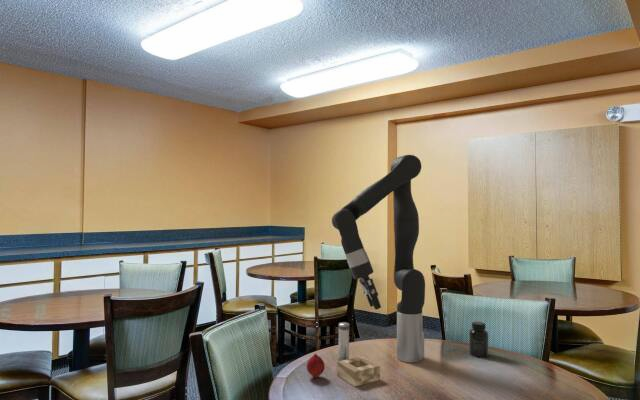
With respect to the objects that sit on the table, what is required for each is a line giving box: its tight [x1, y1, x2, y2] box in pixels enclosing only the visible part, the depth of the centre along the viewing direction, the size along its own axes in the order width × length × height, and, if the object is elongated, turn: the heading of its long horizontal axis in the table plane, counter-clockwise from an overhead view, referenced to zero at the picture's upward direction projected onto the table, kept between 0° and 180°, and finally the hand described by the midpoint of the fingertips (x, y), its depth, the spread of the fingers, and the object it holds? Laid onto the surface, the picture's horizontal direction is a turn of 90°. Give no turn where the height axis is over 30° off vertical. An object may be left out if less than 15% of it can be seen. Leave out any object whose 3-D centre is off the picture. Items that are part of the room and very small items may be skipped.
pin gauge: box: [337, 321, 350, 361], centre depth 145 cm, size 4×4×15 cm
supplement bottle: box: [468, 321, 489, 358], centre depth 158 cm, size 7×7×12 cm
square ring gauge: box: [336, 356, 381, 387], centre depth 135 cm, size 10×10×4 cm
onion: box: [306, 352, 326, 379], centre depth 135 cm, size 6×6×8 cm
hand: (375, 307), depth 145 cm, fingers open, 8 cm apart
